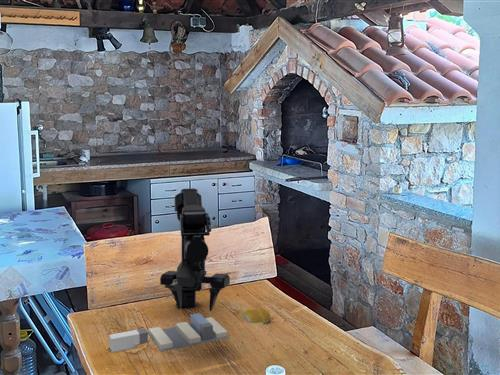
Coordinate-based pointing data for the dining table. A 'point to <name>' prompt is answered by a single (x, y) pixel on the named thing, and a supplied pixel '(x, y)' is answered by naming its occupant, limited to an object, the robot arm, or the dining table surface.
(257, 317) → the bread roll
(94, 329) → the dining table surface
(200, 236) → the robot arm
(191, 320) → the grey rectangular bar
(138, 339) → the grey white bar
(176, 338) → the rack
